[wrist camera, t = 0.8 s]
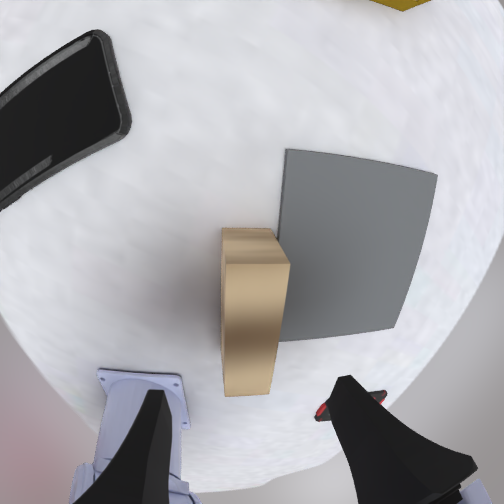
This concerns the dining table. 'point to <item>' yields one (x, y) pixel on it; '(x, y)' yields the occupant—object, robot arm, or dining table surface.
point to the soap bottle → (401, 3)
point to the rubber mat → (349, 242)
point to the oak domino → (251, 308)
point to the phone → (60, 113)
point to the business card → (323, 411)
